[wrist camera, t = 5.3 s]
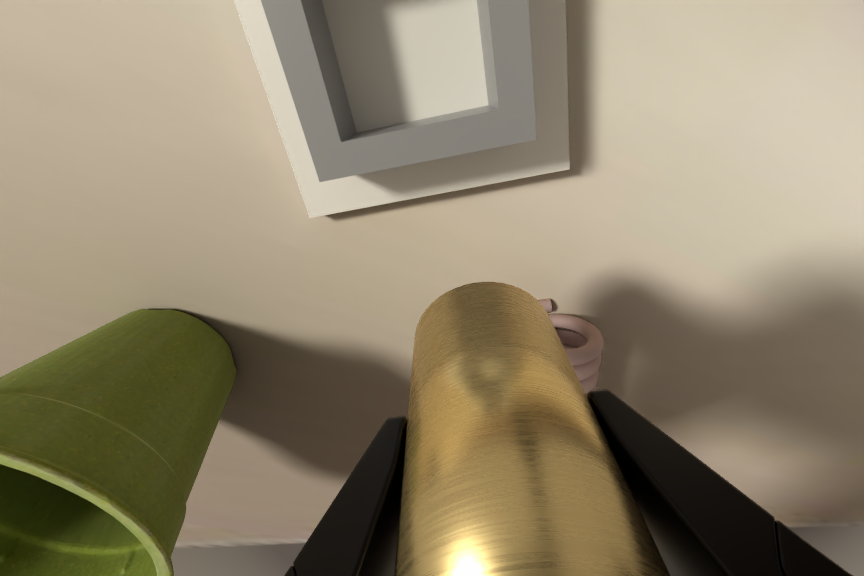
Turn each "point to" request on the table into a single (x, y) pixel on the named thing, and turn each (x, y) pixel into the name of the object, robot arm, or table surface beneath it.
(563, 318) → the coil
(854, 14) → the table surface
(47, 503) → the plant pot
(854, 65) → the table surface
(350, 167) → the fitting board
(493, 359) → the cylinder
